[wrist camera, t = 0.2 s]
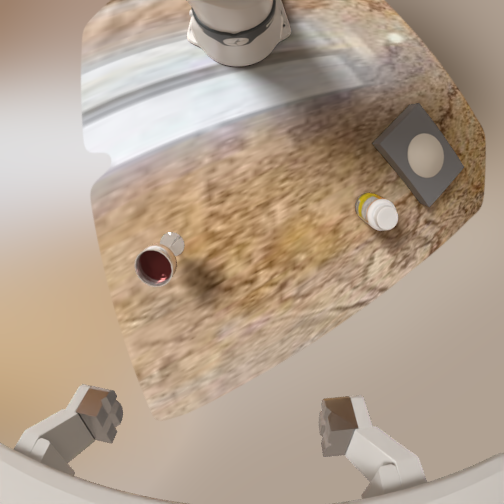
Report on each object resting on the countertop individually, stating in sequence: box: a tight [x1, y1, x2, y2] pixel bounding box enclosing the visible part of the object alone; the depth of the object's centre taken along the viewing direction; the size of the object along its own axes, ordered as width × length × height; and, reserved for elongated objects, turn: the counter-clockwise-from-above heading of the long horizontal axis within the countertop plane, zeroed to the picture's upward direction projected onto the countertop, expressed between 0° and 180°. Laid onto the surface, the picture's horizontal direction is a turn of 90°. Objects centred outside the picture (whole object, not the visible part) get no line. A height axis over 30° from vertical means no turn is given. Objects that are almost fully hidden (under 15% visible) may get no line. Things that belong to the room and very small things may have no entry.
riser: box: [372, 103, 464, 207], centre depth 50 cm, size 16×12×4 cm
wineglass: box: [135, 232, 184, 287], centre depth 53 cm, size 7×7×12 cm
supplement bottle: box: [355, 192, 398, 231], centre depth 51 cm, size 6×6×10 cm
